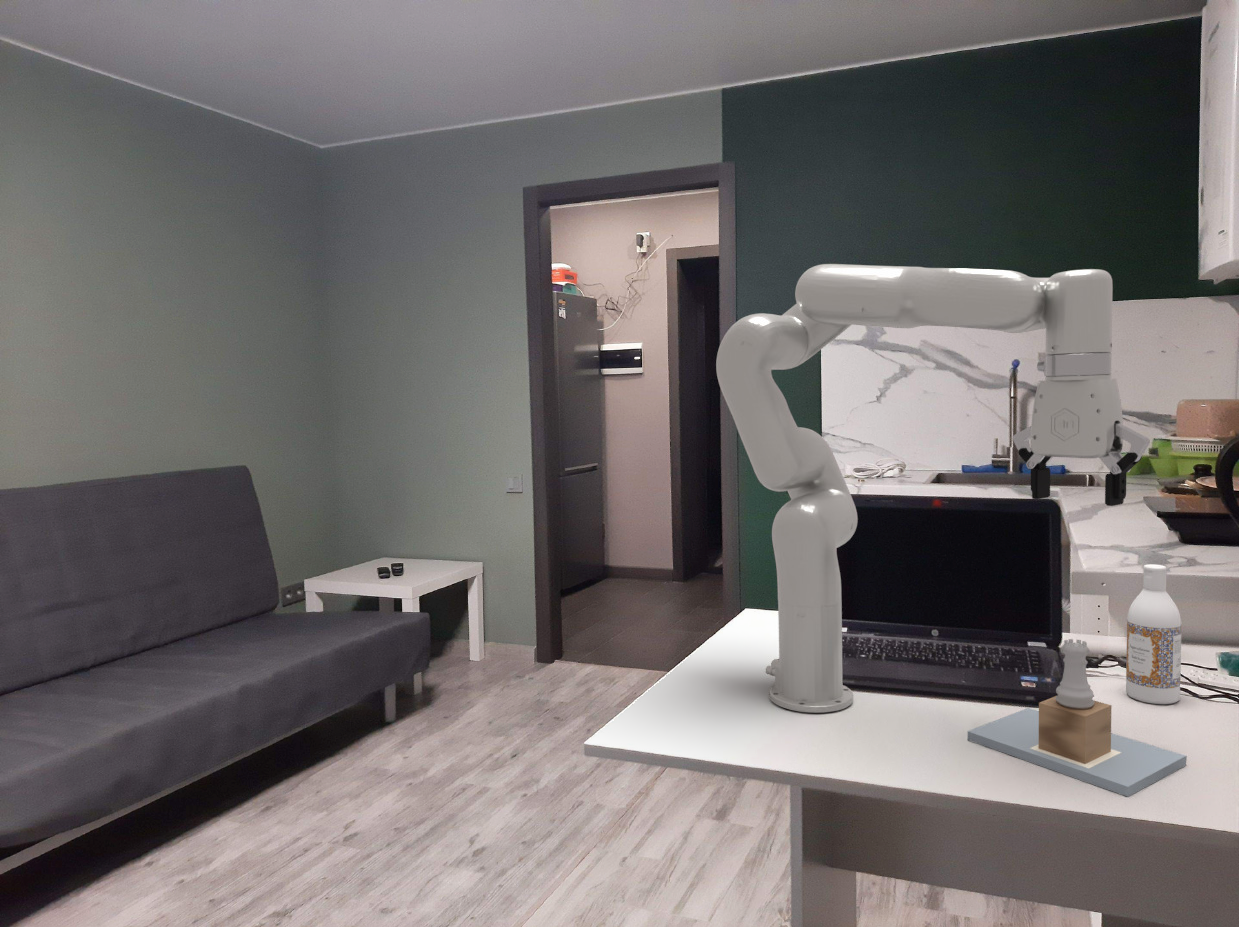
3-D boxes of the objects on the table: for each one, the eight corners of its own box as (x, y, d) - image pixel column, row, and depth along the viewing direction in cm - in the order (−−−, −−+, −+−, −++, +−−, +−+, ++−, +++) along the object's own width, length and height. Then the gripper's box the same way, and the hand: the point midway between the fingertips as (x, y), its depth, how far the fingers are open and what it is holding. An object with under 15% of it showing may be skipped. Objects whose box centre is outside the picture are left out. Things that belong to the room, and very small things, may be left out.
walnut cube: (1038, 748, 113) (1038, 702, 113) (1064, 736, 117) (1064, 692, 116) (1085, 764, 108) (1085, 716, 108) (1110, 751, 112) (1111, 705, 111)
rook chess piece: (1099, 710, 109) (1100, 647, 109) (1060, 709, 110) (1061, 646, 110) (1088, 698, 114) (1089, 637, 113) (1050, 696, 115) (1051, 636, 114)
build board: (967, 739, 120) (967, 730, 120) (1027, 715, 127) (1027, 707, 127) (1127, 796, 102) (1127, 786, 102) (1186, 764, 110) (1186, 755, 110)
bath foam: (1115, 694, 135) (1117, 564, 133) (1146, 686, 138) (1148, 559, 136) (1158, 708, 129) (1161, 572, 127) (1190, 700, 131) (1193, 567, 130)
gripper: (999, 371, 119) (998, 498, 120) (1132, 366, 104) (1130, 510, 106) (1031, 370, 123) (1030, 493, 124) (1164, 365, 108) (1161, 504, 110)
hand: (1076, 501), depth 115 cm, fingers open, 9 cm apart
